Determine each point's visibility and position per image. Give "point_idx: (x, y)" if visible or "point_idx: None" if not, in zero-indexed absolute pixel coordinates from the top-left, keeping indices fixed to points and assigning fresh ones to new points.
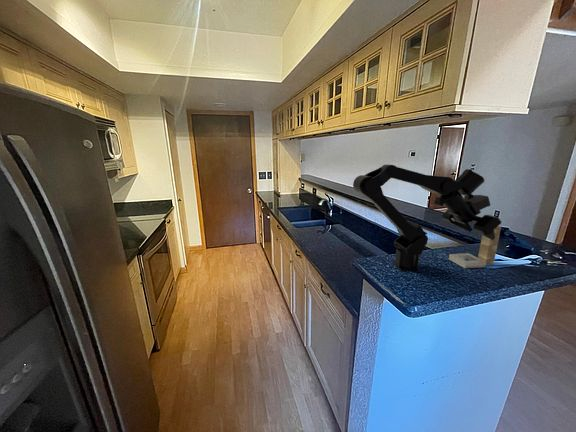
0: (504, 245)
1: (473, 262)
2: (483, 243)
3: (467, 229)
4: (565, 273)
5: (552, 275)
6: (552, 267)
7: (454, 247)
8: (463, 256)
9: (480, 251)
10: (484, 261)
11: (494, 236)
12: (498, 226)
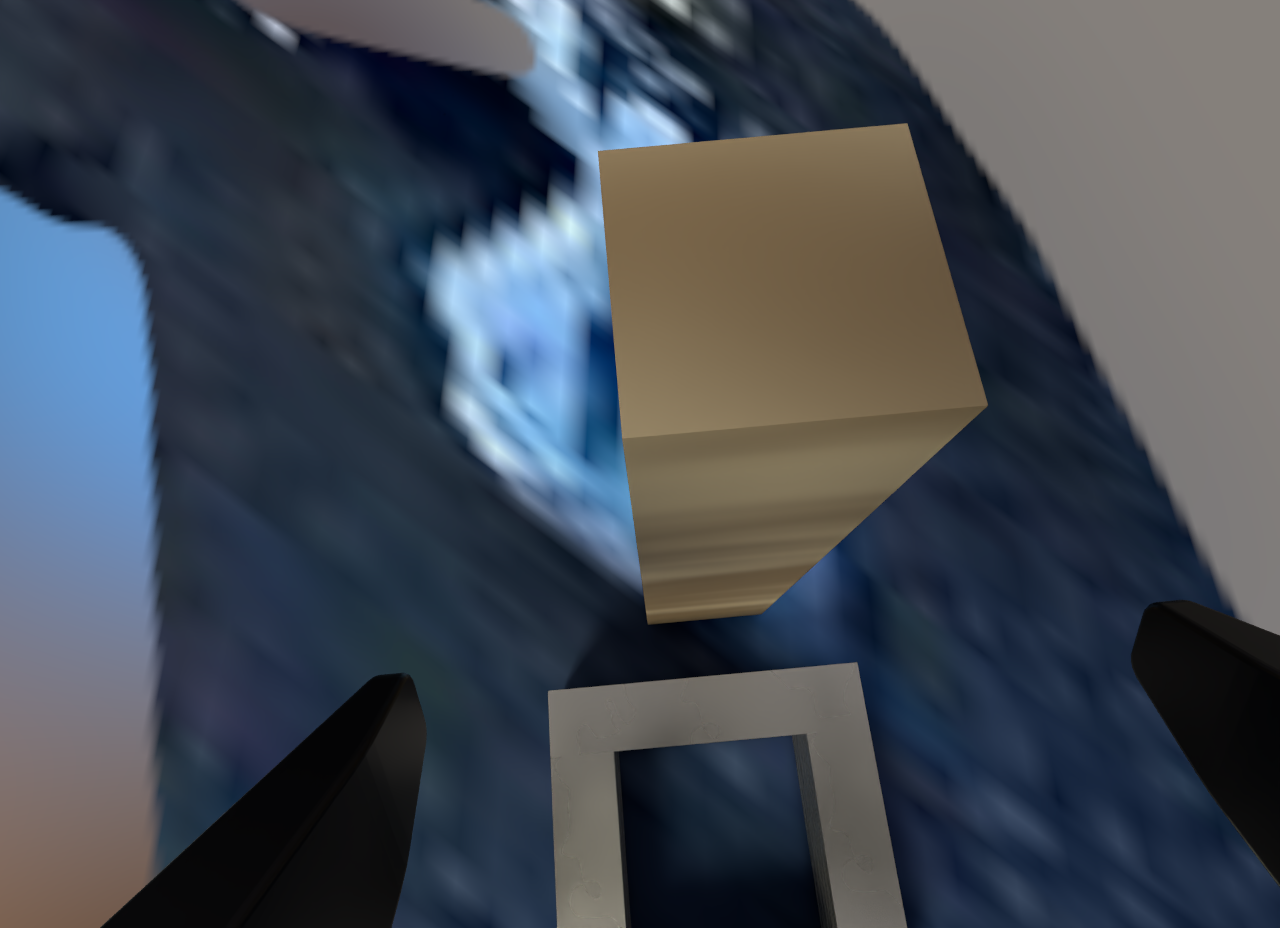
0: (248, 29)
1: (898, 883)
2: (698, 570)
3: (394, 858)
4: (893, 56)
5: (950, 170)
6: (778, 50)
7: (162, 589)
8: (621, 829)
9: (666, 601)
10: (843, 677)
11: (1270, 648)
12: (900, 183)
